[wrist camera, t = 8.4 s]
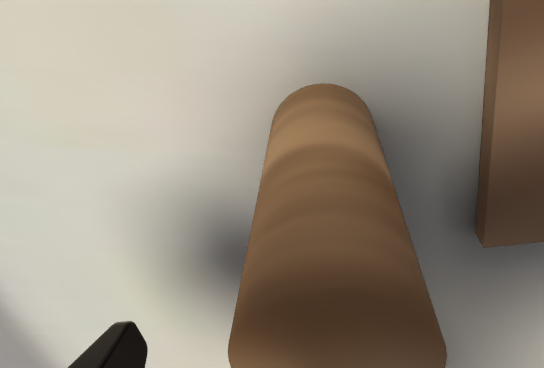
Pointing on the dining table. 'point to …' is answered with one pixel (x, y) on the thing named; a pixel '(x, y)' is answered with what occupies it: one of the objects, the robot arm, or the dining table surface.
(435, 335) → the dowel
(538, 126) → the base board
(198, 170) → the dining table surface
